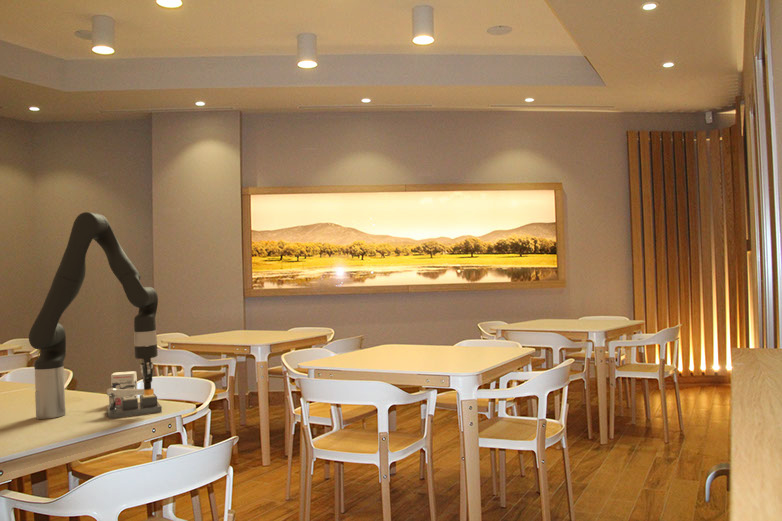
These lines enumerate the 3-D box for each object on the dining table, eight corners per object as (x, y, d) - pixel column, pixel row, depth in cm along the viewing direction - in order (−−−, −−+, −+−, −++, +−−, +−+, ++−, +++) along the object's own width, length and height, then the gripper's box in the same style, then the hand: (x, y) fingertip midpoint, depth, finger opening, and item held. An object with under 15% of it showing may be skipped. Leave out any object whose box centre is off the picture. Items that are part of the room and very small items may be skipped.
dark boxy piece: (109, 418, 228) (108, 399, 228) (107, 411, 241) (106, 393, 241) (161, 412, 236) (160, 393, 236) (156, 405, 248) (155, 387, 248)
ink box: (111, 405, 253) (110, 374, 253) (115, 403, 257) (113, 372, 258) (135, 404, 254) (133, 372, 254) (138, 401, 259) (136, 371, 259)
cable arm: (105, 395, 234) (104, 389, 234) (111, 393, 237) (110, 388, 237) (148, 395, 230) (148, 389, 230) (154, 394, 233) (153, 388, 233)
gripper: (132, 343, 239) (134, 391, 239) (136, 346, 227) (138, 397, 227) (154, 341, 242) (156, 389, 242) (159, 344, 230) (161, 395, 230)
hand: (147, 393), depth 235 cm, fingers closed
